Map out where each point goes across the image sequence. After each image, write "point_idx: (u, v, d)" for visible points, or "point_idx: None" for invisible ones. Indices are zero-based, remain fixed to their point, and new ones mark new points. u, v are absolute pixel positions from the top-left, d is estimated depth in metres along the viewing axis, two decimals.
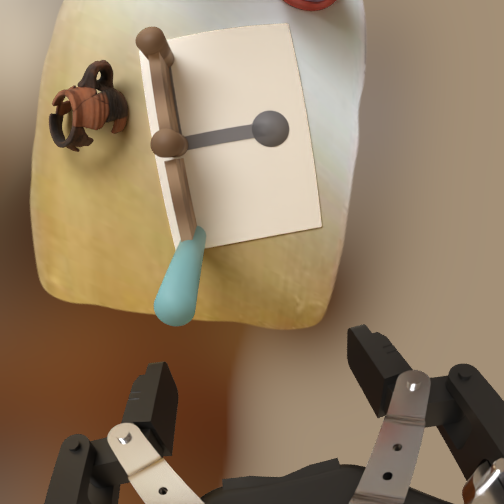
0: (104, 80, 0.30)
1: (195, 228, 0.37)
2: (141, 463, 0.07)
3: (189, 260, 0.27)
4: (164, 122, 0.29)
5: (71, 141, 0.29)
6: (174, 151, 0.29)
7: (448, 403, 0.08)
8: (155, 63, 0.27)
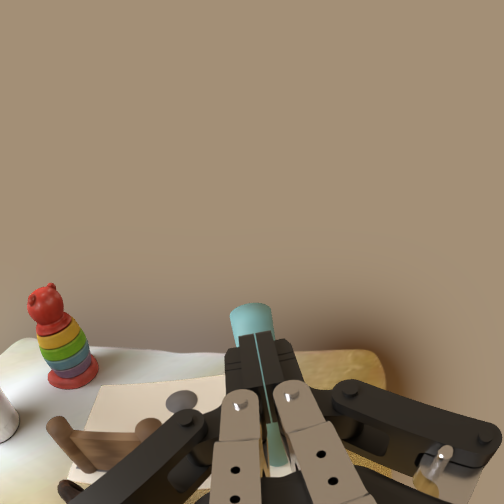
0: None
1: None
2: (238, 434, 0.08)
3: None
4: (133, 436, 0.26)
5: None
6: (159, 422, 0.26)
7: (331, 418, 0.08)
8: (80, 433, 0.25)
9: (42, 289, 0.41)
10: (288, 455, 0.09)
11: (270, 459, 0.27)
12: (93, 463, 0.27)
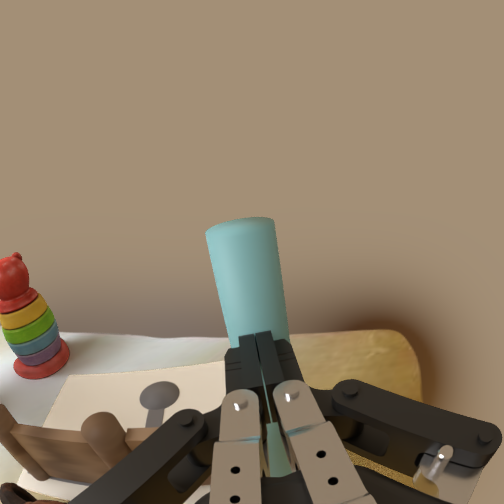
0: None
1: None
2: (238, 434, 0.08)
3: None
4: (82, 436, 0.17)
5: None
6: (113, 418, 0.17)
7: (331, 419, 0.08)
8: (21, 428, 0.17)
9: (5, 258, 0.32)
10: (288, 455, 0.09)
11: (274, 474, 0.18)
12: (44, 468, 0.18)
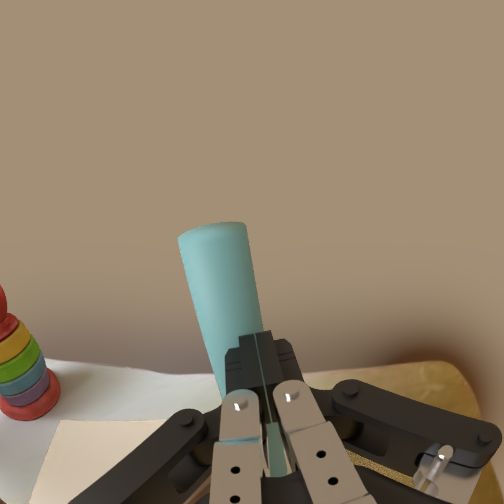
0: None
1: None
2: (238, 434, 0.08)
3: (209, 358, 0.15)
4: None
5: None
6: None
7: (331, 419, 0.08)
8: None
9: None
10: (288, 455, 0.09)
11: (273, 475, 0.18)
12: None
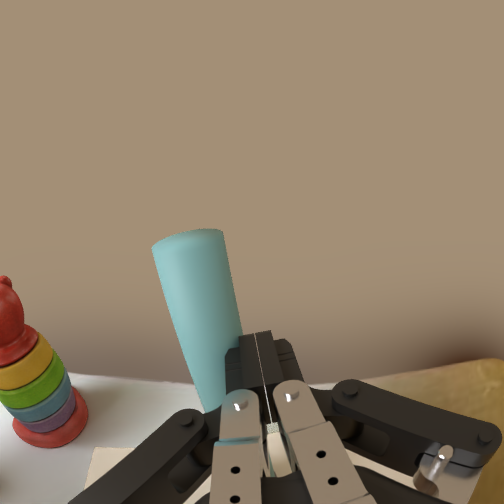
0: None
1: None
2: (238, 434, 0.08)
3: (199, 379, 0.13)
4: None
5: None
6: None
7: (331, 419, 0.08)
8: None
9: None
10: (288, 455, 0.09)
11: None
12: None
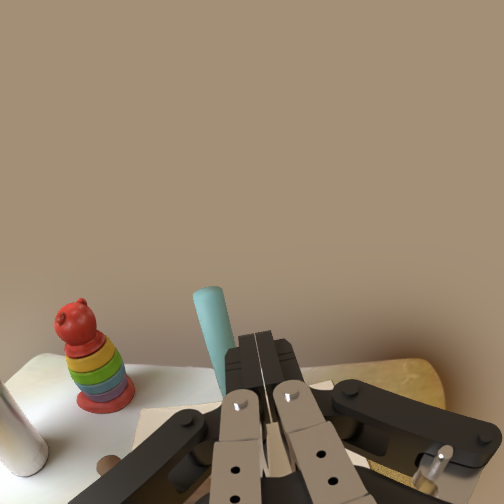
0: None
1: None
2: (238, 434, 0.08)
3: (212, 352, 0.31)
4: None
5: None
6: None
7: (331, 419, 0.08)
8: None
9: (72, 306, 0.38)
10: (288, 455, 0.09)
11: None
12: None
